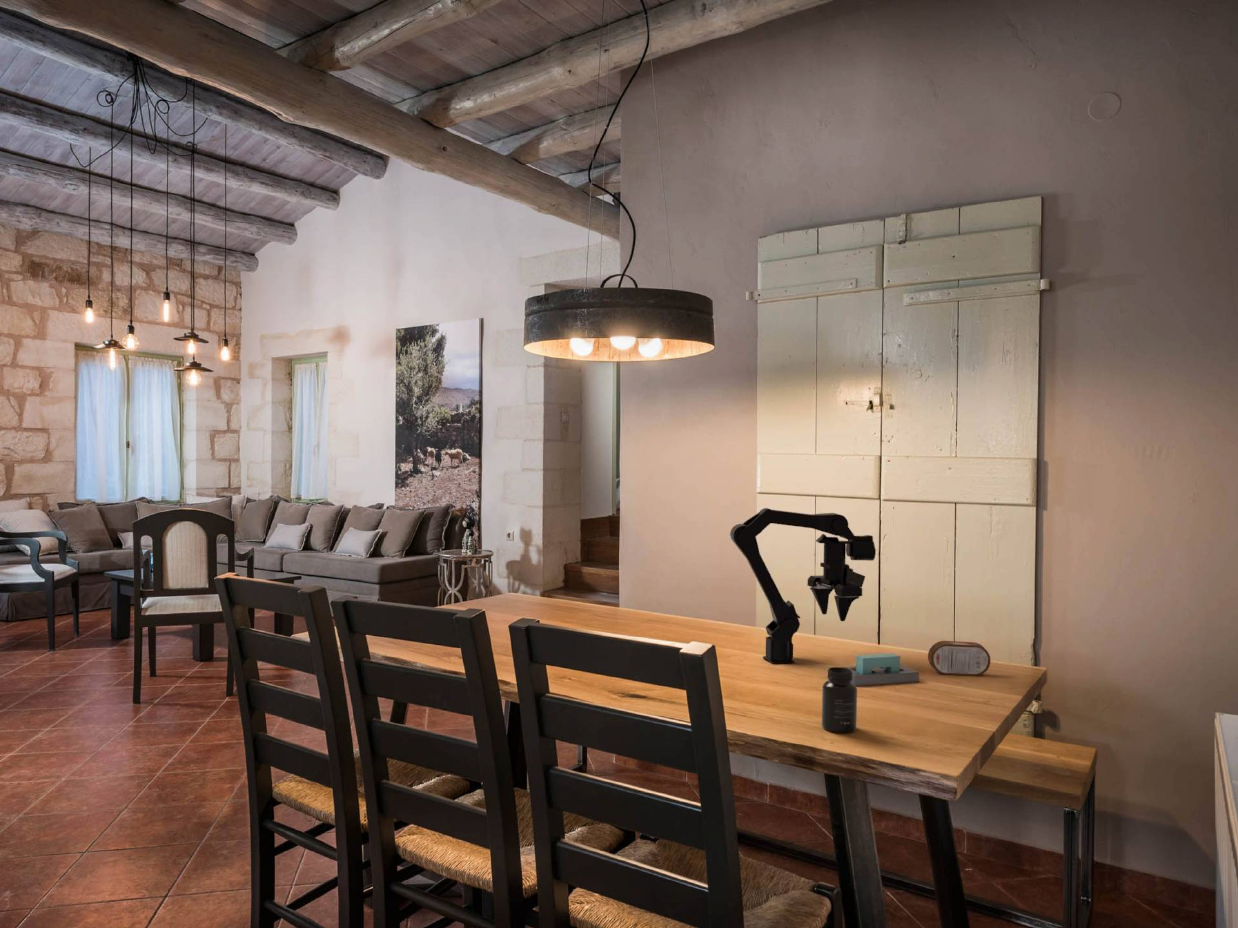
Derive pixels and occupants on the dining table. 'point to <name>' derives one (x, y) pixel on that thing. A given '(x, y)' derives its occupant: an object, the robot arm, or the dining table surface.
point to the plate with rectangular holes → (884, 676)
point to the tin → (959, 658)
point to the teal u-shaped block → (877, 662)
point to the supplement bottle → (839, 701)
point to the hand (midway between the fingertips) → (833, 617)
